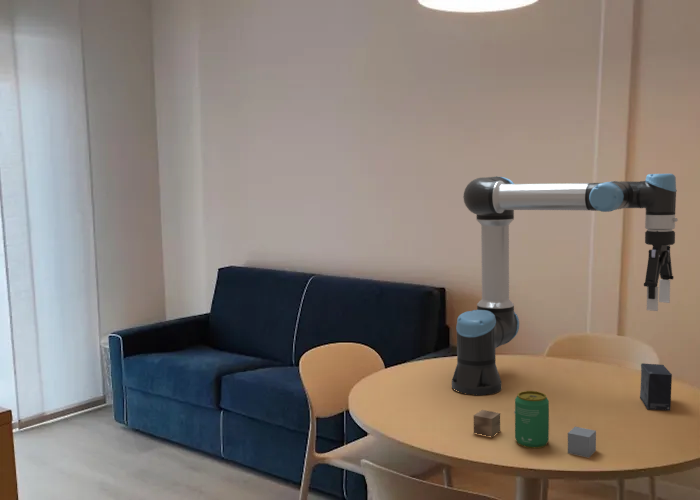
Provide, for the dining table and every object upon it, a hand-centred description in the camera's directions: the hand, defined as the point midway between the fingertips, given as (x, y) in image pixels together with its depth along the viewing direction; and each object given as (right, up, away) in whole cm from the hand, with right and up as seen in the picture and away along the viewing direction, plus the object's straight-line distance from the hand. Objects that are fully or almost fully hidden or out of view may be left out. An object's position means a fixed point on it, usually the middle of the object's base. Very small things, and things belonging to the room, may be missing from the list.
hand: (658, 306), depth 193 cm
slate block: (-31, -32, -28) cm, 53 cm away
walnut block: (-51, -31, -15) cm, 61 cm away
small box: (0, -28, +3) cm, 28 cm away
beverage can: (-41, -32, -22) cm, 56 cm away
